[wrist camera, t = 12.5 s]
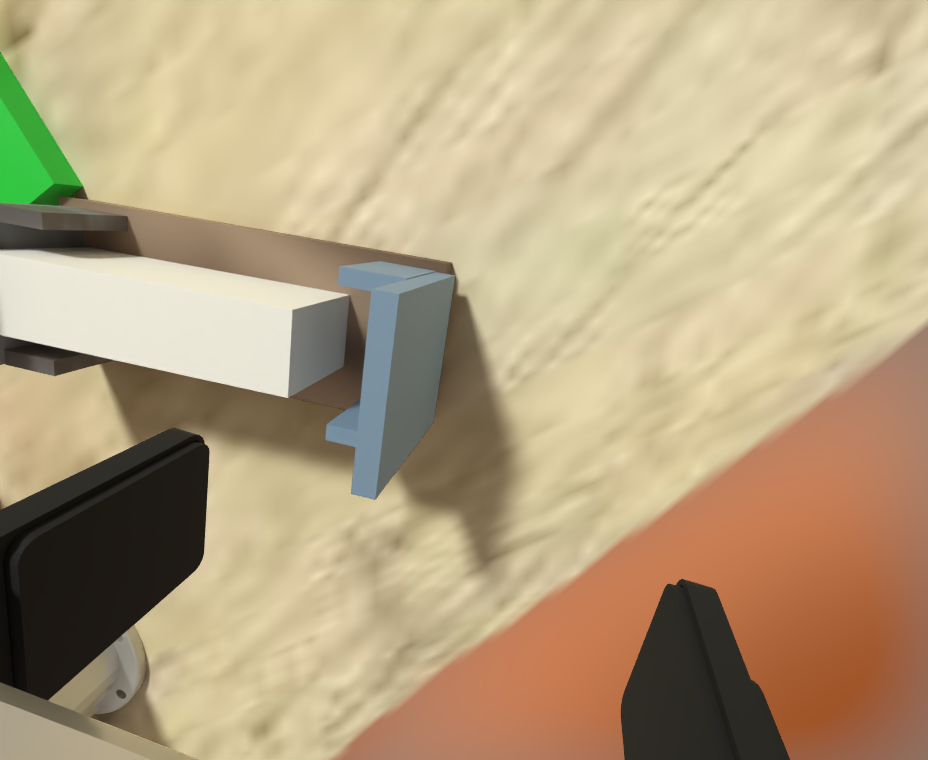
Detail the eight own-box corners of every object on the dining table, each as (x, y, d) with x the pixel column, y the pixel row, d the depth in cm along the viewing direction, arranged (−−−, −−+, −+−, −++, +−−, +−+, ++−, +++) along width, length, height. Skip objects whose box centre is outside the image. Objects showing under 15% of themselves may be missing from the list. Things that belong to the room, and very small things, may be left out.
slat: (343, 366, 29) (287, 397, 23) (94, 315, 31) (-12, 332, 26) (349, 294, 28) (292, 309, 22) (90, 247, 30) (-22, 249, 24)
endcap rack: (429, 421, 30) (362, 506, 20) (83, 344, 33) (-112, 387, 24) (451, 262, 27) (387, 276, 18) (73, 197, 31) (-149, 179, 21)
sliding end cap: (433, 422, 29) (375, 501, 20) (365, 407, 29) (280, 477, 21) (455, 274, 26) (399, 292, 18) (380, 261, 27) (291, 272, 18)
